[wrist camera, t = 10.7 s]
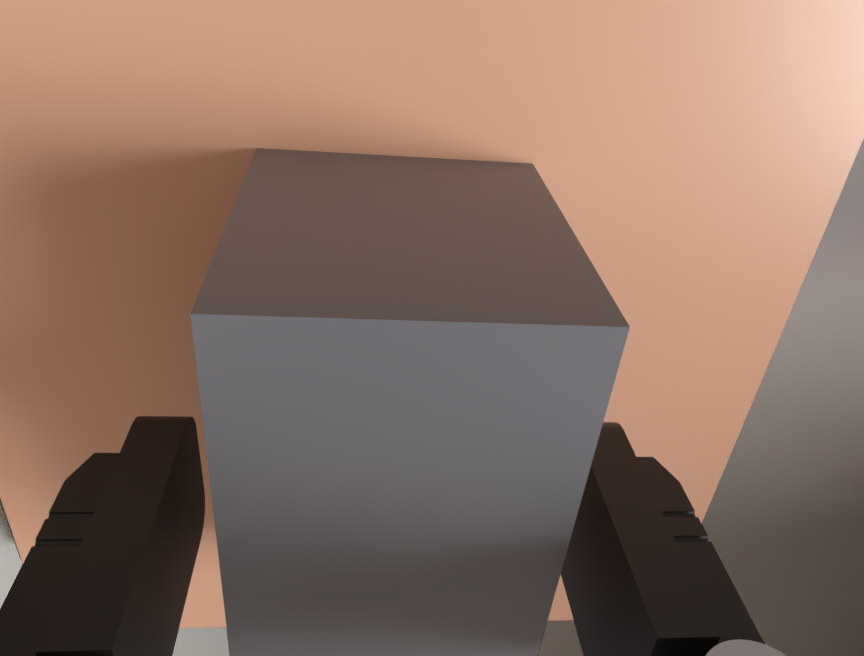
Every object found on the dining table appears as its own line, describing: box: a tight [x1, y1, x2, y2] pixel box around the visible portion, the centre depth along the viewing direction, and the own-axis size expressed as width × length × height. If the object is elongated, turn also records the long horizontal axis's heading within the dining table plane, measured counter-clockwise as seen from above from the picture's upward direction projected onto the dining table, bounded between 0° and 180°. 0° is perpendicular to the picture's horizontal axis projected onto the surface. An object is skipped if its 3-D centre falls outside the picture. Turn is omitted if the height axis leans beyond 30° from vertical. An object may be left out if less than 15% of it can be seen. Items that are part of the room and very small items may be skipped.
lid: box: [0, 0, 864, 656], centre depth 11 cm, size 14×14×7 cm
